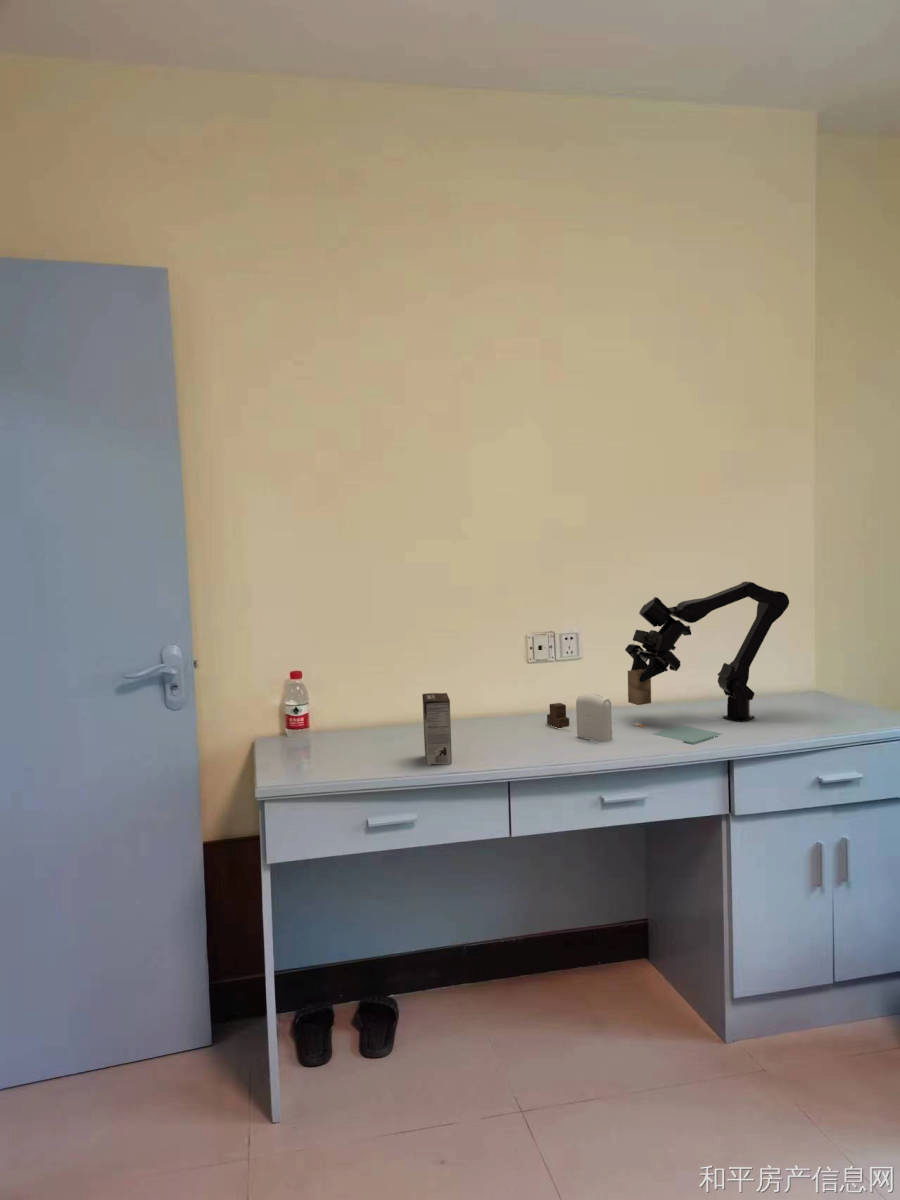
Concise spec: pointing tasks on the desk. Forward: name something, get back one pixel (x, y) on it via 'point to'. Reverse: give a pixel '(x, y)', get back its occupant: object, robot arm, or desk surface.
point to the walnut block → (638, 688)
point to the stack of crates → (558, 715)
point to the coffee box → (437, 728)
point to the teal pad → (687, 734)
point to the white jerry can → (594, 717)
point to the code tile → (639, 725)
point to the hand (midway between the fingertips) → (635, 680)
